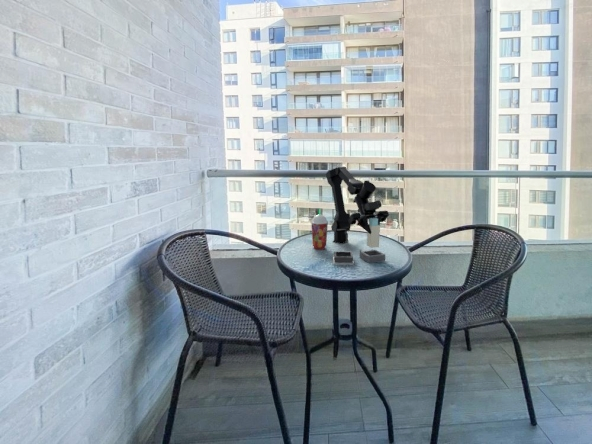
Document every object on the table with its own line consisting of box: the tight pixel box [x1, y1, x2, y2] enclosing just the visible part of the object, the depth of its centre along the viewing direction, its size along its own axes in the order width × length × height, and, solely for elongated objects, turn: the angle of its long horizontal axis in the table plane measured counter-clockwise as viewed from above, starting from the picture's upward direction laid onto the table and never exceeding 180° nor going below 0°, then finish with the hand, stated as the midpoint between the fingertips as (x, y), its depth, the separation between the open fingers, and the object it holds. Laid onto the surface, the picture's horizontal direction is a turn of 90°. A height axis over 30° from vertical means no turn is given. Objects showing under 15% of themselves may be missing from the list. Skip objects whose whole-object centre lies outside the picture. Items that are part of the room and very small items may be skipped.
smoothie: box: [310, 208, 329, 250], centre depth 205 cm, size 8×8×20 cm
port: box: [332, 251, 355, 266], centre depth 185 cm, size 9×9×4 cm
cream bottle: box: [366, 218, 381, 249], centre depth 185 cm, size 4×4×13 cm
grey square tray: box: [359, 249, 386, 264], centre depth 188 cm, size 8×8×3 cm
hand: (374, 232), depth 184 cm, fingers closed on cream bottle, 4 cm apart
